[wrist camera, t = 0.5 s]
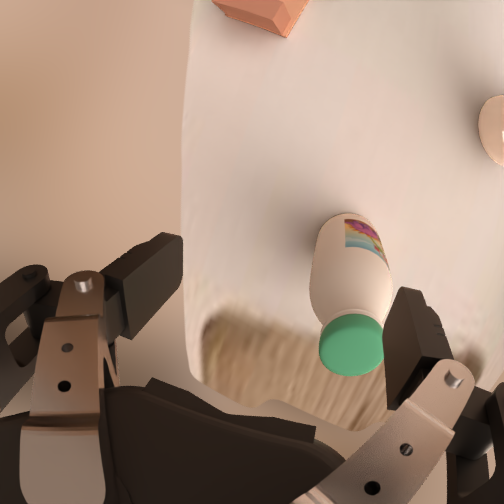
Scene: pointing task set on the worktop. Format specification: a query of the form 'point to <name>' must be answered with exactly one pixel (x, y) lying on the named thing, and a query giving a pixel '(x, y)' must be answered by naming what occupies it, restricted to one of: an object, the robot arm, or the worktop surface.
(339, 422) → the worktop surface
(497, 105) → the base with upright slab
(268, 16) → the peach l-shaped block
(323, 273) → the milk bottle
